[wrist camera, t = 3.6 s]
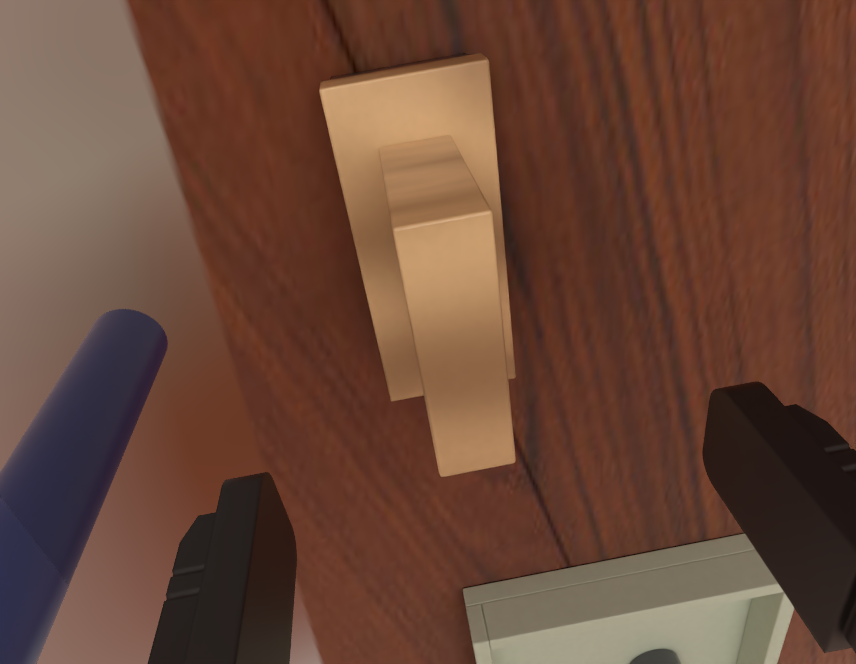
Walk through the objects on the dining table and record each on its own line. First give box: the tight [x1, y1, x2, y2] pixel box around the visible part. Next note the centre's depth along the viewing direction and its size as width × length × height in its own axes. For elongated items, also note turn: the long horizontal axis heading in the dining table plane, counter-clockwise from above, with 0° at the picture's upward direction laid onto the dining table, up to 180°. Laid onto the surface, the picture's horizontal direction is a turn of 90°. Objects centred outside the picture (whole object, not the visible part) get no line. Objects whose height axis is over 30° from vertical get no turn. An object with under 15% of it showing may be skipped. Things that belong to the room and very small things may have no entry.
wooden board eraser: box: [319, 53, 516, 477], centre depth 17 cm, size 10×4×8 cm, turn 8°
